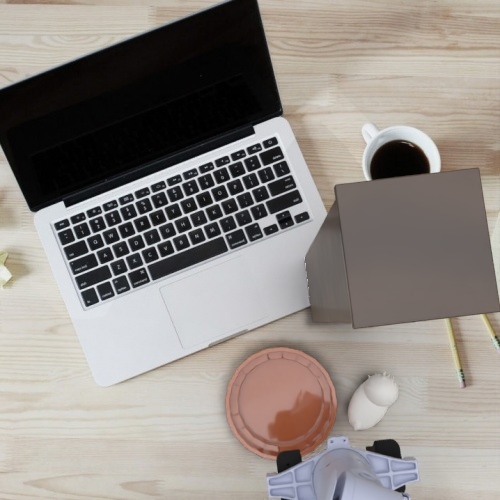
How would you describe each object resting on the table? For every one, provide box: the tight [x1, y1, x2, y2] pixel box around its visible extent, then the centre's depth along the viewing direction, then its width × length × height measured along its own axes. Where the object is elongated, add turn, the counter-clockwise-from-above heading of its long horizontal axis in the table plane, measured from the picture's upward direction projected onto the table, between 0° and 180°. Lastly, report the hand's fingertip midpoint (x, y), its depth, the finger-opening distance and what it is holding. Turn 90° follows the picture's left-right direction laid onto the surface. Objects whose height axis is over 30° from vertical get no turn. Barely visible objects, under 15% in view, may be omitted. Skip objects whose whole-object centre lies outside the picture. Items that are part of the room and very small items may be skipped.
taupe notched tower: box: [304, 166, 500, 330], centre depth 65 cm, size 9×9×47 cm
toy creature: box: [347, 369, 401, 431], centre depth 84 cm, size 5×8×6 cm, turn 146°
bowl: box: [224, 345, 338, 461], centre depth 85 cm, size 13×13×4 cm
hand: (334, 460), depth 77 cm, fingers open, 7 cm apart
